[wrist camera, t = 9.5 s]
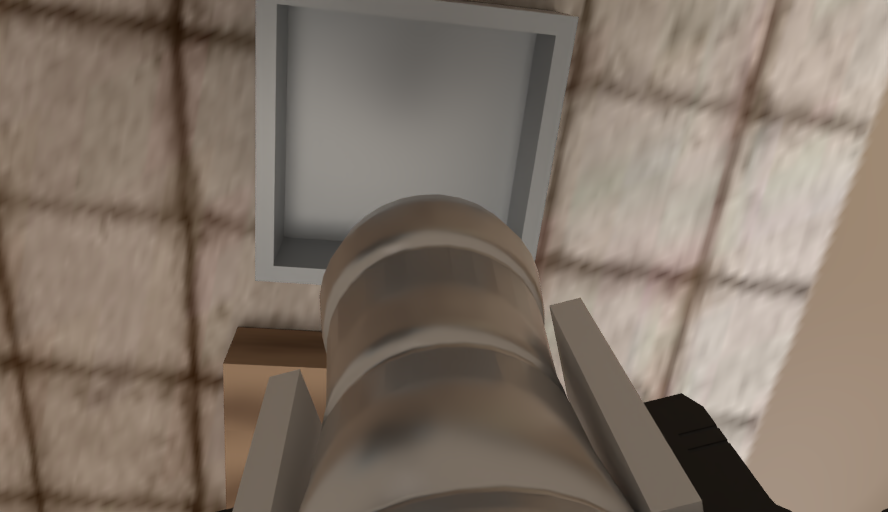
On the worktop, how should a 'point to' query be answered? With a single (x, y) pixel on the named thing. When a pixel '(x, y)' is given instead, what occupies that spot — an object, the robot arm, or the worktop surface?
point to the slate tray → (399, 117)
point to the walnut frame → (264, 385)
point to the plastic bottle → (444, 374)
